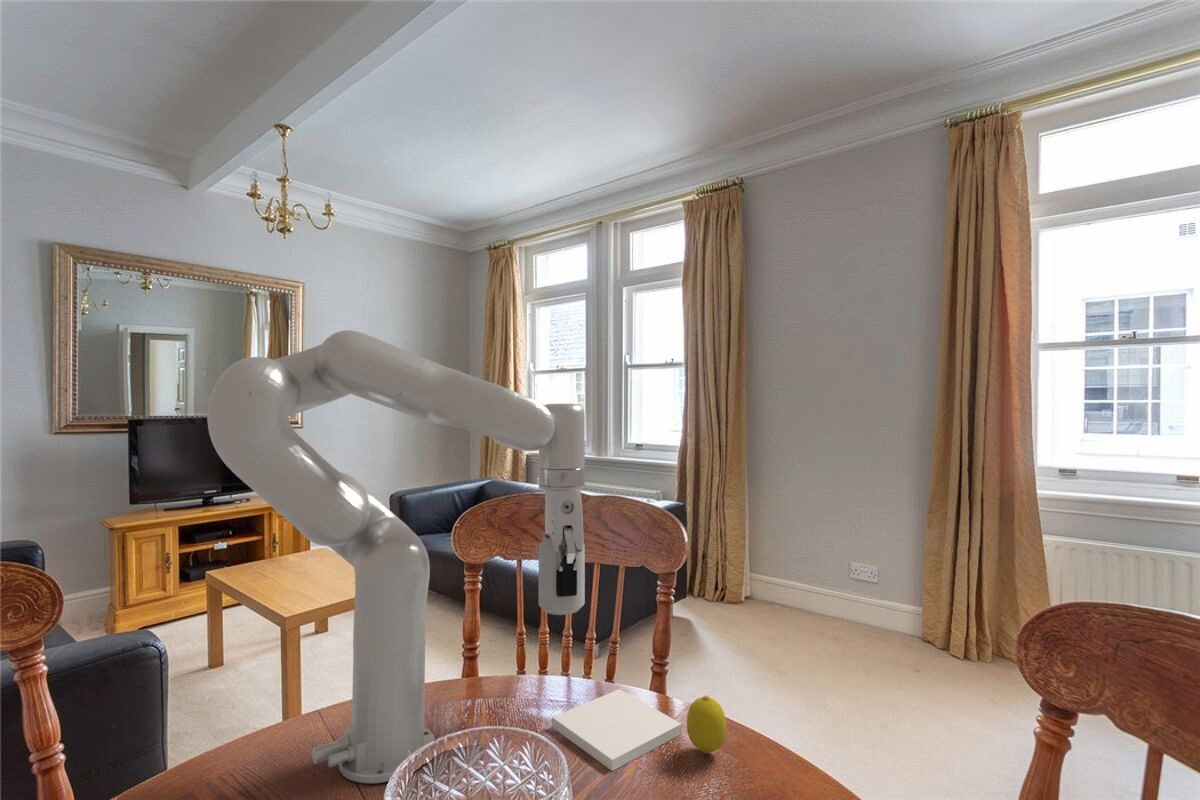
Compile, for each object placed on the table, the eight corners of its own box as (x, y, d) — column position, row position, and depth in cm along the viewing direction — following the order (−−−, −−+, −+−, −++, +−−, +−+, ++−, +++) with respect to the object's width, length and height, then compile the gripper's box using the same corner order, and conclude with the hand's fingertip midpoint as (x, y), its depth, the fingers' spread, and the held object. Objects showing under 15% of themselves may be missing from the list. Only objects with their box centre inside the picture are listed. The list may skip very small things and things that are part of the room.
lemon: (726, 767, 76) (726, 708, 77) (685, 762, 77) (685, 703, 78) (725, 744, 82) (725, 689, 82) (687, 740, 83) (687, 685, 83)
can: (593, 606, 92) (593, 533, 92) (564, 620, 86) (564, 541, 86) (558, 598, 96) (558, 527, 97) (528, 610, 90) (529, 535, 90)
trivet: (612, 771, 75) (612, 759, 75) (551, 726, 86) (552, 716, 86) (681, 733, 84) (681, 723, 84) (619, 698, 95) (619, 689, 95)
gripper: (596, 484, 84) (597, 603, 84) (573, 473, 101) (573, 571, 100) (547, 486, 82) (547, 607, 82) (532, 474, 99) (532, 574, 99)
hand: (561, 587), depth 91 cm, fingers closed on can, 7 cm apart
